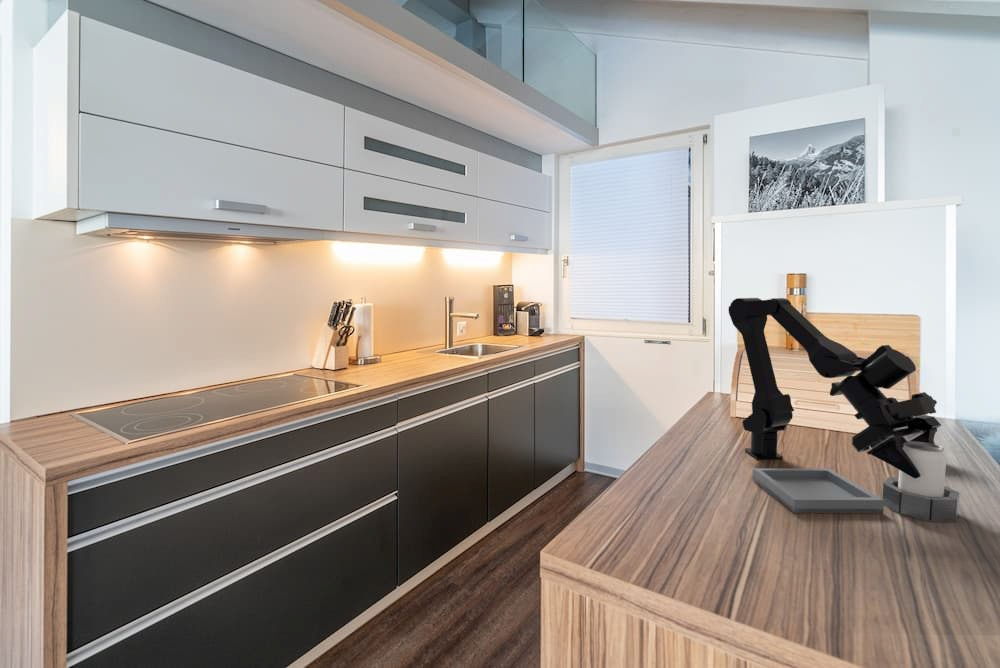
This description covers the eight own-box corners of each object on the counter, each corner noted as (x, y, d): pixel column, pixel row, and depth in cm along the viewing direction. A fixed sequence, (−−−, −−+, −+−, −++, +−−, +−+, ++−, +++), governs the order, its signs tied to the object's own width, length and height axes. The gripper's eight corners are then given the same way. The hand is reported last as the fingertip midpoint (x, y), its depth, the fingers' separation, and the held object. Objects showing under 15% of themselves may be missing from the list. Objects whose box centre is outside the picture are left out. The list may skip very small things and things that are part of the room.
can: (951, 518, 89) (956, 452, 88) (909, 515, 91) (914, 450, 90) (928, 502, 96) (932, 441, 95) (889, 500, 97) (893, 439, 96)
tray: (752, 479, 108) (753, 468, 108) (828, 479, 107) (829, 468, 107) (793, 512, 92) (794, 499, 92) (882, 513, 91) (883, 500, 91)
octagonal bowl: (870, 497, 99) (872, 477, 98) (925, 497, 98) (926, 477, 98) (912, 521, 88) (913, 499, 88) (973, 521, 88) (975, 499, 88)
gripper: (872, 382, 91) (940, 460, 82) (932, 374, 98) (1001, 445, 89) (827, 415, 99) (885, 489, 90) (885, 405, 106) (944, 473, 97)
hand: (930, 474), depth 91 cm, fingers open, 7 cm apart
